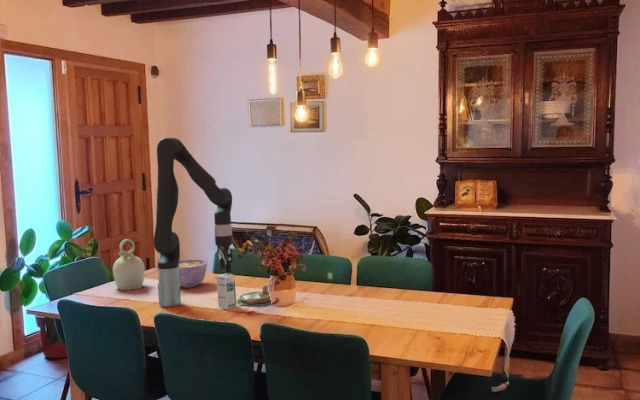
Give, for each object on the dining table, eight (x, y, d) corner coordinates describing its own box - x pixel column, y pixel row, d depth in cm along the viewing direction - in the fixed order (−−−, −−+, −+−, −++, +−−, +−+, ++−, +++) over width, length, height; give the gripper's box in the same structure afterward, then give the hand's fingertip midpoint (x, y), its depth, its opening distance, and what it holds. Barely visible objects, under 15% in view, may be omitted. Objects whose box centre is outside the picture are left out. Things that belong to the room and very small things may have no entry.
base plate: (242, 309, 262) (242, 307, 262) (229, 299, 278) (229, 298, 278) (283, 302, 271) (283, 301, 271) (268, 293, 287) (268, 292, 287)
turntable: (232, 301, 272) (232, 290, 272) (254, 292, 286) (254, 283, 285) (260, 305, 264) (260, 295, 263) (281, 296, 277) (281, 286, 277)
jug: (112, 286, 310) (109, 238, 308) (143, 282, 317) (140, 235, 314) (115, 292, 297) (112, 242, 294) (148, 288, 303) (145, 239, 300)
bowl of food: (161, 289, 300) (159, 266, 299) (181, 280, 319) (180, 258, 318) (196, 291, 295) (195, 268, 293) (215, 281, 314) (214, 259, 312)
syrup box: (227, 309, 262) (225, 277, 261) (217, 307, 266) (216, 275, 264) (236, 306, 267) (235, 274, 265) (227, 304, 270) (225, 272, 269)
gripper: (236, 235, 258) (239, 272, 260) (226, 231, 271) (228, 266, 273) (220, 237, 255) (222, 274, 257) (210, 232, 268) (212, 268, 269)
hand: (225, 270), depth 265 cm, fingers open, 8 cm apart
